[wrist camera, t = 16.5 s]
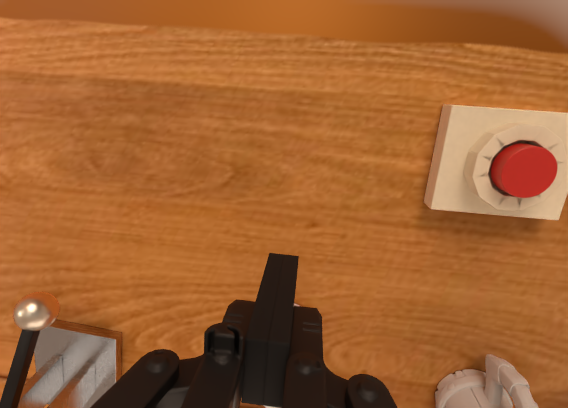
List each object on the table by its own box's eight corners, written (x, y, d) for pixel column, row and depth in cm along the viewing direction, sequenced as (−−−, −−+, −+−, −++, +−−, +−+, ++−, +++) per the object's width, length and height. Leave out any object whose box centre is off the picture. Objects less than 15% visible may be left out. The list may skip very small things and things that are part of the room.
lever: (37, 287, 35) (10, 289, 32) (72, 294, 35) (48, 297, 31) (-20, 476, 32) (-58, 501, 28) (17, 483, 32) (-16, 510, 28)
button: (484, 190, 29) (495, 196, 27) (497, 141, 27) (509, 144, 26) (535, 194, 28) (548, 200, 27) (550, 145, 27) (565, 148, 25)
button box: (423, 202, 33) (437, 216, 29) (442, 104, 30) (461, 105, 26) (543, 212, 32) (573, 228, 29) (574, 113, 30) (612, 116, 26)
